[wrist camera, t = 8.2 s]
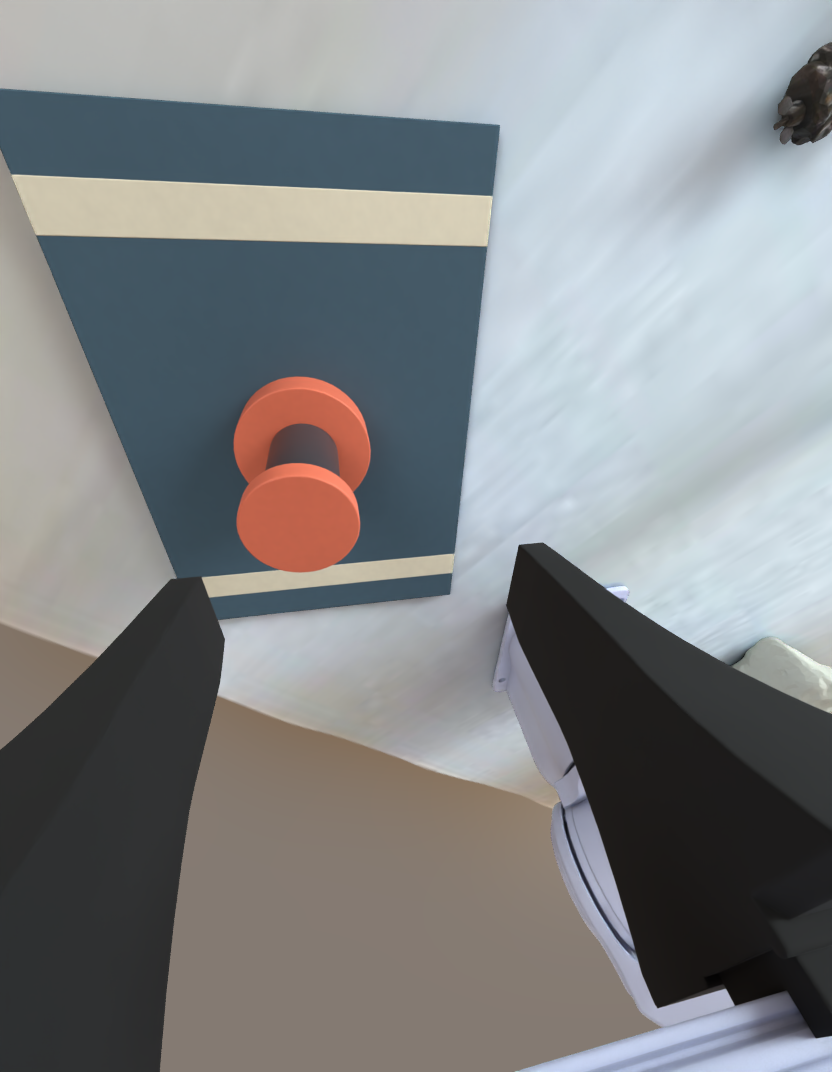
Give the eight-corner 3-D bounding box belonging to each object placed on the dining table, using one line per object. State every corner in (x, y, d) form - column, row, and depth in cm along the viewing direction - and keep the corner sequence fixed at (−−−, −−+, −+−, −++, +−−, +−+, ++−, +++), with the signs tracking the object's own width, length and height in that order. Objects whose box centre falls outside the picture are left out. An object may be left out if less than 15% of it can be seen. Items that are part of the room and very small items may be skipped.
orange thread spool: (369, 489, 20) (387, 582, 15) (252, 497, 19) (229, 599, 14) (364, 374, 17) (385, 443, 12) (224, 377, 16) (181, 453, 11)
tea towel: (448, 590, 25) (450, 594, 25) (196, 618, 23) (195, 622, 23) (497, 126, 13) (500, 124, 13) (-19, 88, 11) (-27, 86, 11)
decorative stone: (771, 717, 42) (794, 817, 34) (678, 666, 43) (680, 749, 36) (875, 653, 35) (932, 759, 27) (760, 595, 37) (783, 680, 29)
